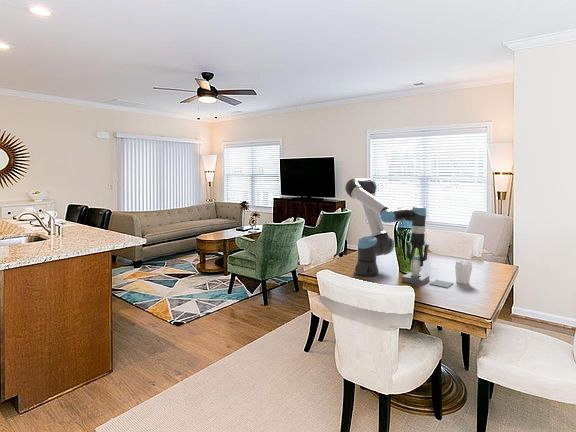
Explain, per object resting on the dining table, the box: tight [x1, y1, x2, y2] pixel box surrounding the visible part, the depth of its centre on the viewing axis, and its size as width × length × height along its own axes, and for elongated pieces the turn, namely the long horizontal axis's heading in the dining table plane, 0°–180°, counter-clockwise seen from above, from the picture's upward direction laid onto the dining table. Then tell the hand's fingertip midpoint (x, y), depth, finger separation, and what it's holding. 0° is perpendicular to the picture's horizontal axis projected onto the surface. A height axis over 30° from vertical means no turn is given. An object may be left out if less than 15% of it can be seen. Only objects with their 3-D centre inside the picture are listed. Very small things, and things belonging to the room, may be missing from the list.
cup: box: [454, 260, 473, 285], centre depth 215 cm, size 9×9×12 cm
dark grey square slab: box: [401, 271, 430, 286], centre depth 218 cm, size 12×12×3 cm
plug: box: [411, 255, 420, 278], centre depth 217 cm, size 5×5×14 cm
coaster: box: [429, 279, 454, 289], centre depth 212 cm, size 10×10×1 cm
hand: (415, 270), depth 218 cm, fingers closed on plug, 4 cm apart
